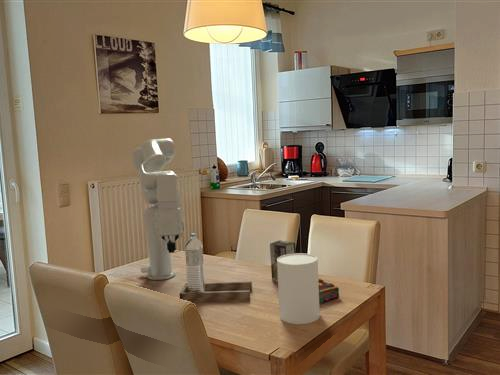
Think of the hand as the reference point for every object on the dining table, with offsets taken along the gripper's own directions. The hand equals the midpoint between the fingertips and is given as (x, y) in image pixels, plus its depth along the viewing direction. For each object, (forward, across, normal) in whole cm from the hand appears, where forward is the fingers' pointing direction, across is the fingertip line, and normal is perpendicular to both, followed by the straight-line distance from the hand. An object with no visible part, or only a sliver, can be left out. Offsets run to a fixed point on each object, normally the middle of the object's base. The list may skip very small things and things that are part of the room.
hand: (171, 252), depth 191 cm
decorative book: (+19, +54, -3) cm, 58 cm away
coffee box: (+18, +42, +16) cm, 49 cm away
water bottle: (+18, +9, 0) cm, 20 cm away
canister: (+18, +48, -22) cm, 56 cm away
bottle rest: (+18, +16, 0) cm, 24 cm away
